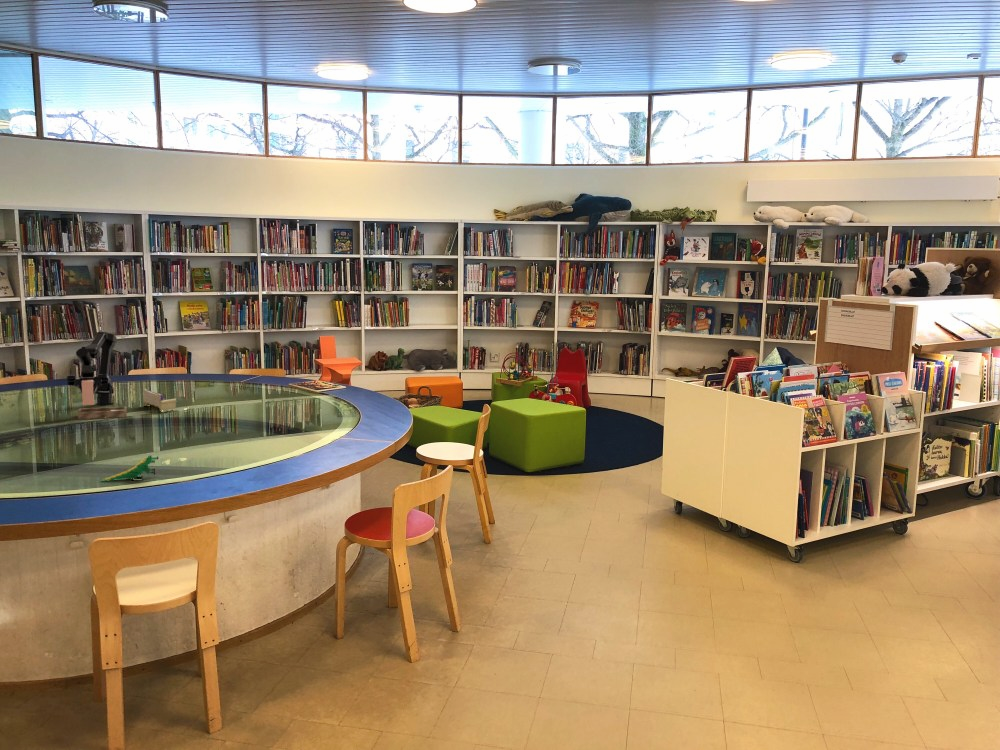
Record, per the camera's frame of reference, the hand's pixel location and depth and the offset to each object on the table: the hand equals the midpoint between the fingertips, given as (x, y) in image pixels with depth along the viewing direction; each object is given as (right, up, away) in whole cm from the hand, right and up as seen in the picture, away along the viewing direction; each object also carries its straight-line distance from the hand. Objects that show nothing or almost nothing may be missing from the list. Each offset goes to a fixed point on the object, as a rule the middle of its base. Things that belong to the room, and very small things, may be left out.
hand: (87, 393), depth 401 cm
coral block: (-1, -5, +2) cm, 6 cm away
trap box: (+5, -12, +6) cm, 14 cm away
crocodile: (+66, -31, -97) cm, 121 cm away
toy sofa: (+24, -9, +29) cm, 39 cm away
